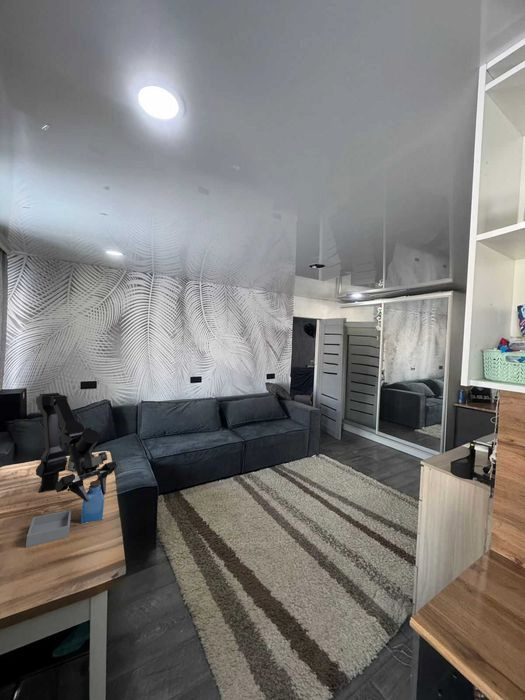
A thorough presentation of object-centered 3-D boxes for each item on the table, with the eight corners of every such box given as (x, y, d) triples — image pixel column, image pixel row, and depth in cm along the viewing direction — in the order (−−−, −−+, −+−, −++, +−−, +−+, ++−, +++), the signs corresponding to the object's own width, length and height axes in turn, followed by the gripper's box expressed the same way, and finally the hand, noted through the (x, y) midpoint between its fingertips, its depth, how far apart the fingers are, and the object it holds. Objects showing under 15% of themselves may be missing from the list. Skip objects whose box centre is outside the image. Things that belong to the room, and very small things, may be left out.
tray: (32, 527, 87) (33, 517, 88) (70, 519, 93) (71, 509, 93) (25, 547, 79) (26, 536, 79) (68, 537, 84) (69, 526, 84)
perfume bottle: (80, 523, 91) (83, 488, 91) (83, 513, 96) (85, 479, 97) (102, 519, 94) (104, 485, 94) (103, 510, 99) (105, 477, 99)
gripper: (62, 453, 89) (76, 497, 84) (116, 440, 105) (131, 476, 100) (49, 470, 93) (62, 514, 87) (103, 455, 109) (117, 491, 104)
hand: (96, 497), depth 94 cm, fingers closed on perfume bottle, 5 cm apart
